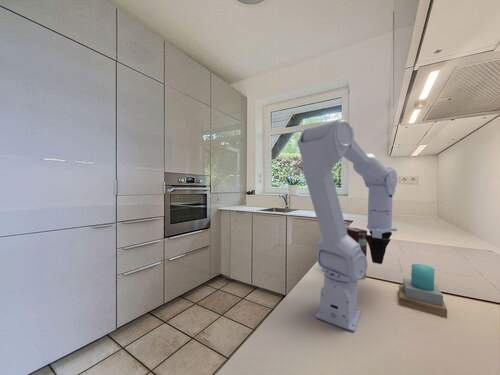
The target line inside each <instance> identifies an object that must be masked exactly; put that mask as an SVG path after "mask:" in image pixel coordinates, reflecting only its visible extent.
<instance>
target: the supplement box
mask: <svg viewBox="0 0 500 375" xmlns="http://www.w3.org/2000/svg"><path fill="white" fill-rule="evenodd" d="M345 226H346V230H347V234H348V235H349V236H350V237H351V238H352V239H353V240H355V241H356V242H357V243H358V244H359V245H360V247H361V250H362V252H363V253H364V255H365V257H366V258H367V252H368V251H367V248H368V247H367V246H368V242H367V240H366V238H365V235H368V230H367V229H361V228H357V227H353V226H348V225H345ZM366 278H367V272H366V273H365V275H364V276H363V278H361V279H360V280H362V279H366Z"/></svg>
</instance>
